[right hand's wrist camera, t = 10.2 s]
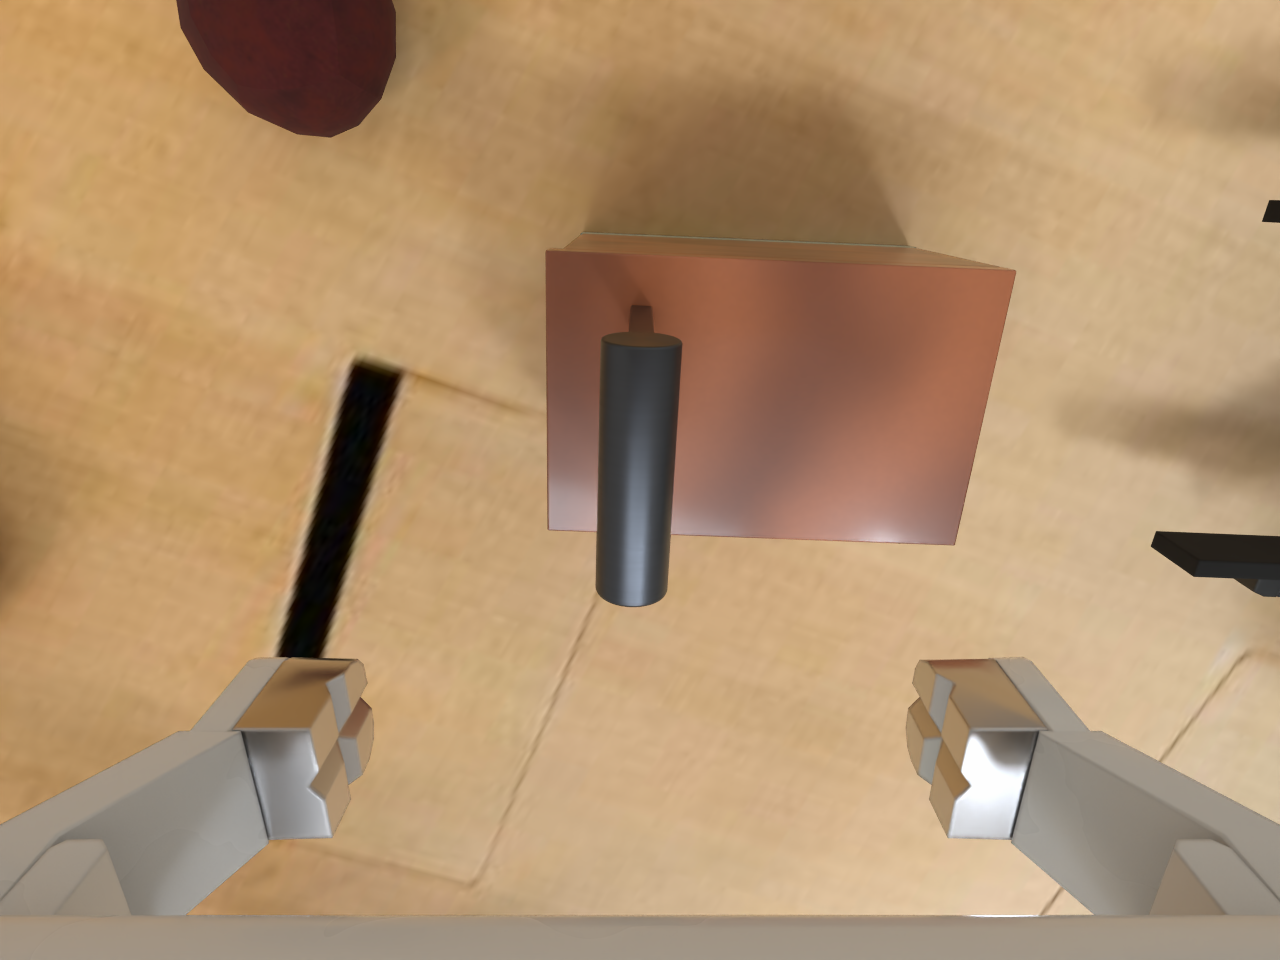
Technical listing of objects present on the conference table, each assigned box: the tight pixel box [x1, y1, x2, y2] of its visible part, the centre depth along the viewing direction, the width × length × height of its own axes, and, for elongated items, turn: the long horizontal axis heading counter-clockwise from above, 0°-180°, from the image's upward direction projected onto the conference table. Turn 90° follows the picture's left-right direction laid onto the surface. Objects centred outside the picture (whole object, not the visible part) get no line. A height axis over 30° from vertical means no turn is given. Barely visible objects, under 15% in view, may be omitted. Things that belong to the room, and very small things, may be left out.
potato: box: [176, 0, 396, 137], centre depth 26 cm, size 7×8×7 cm
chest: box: [564, 232, 998, 267], centre depth 30 cm, size 15×10×9 cm
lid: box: [546, 248, 1016, 607], centre depth 22 cm, size 15×10×8 cm, turn 88°
